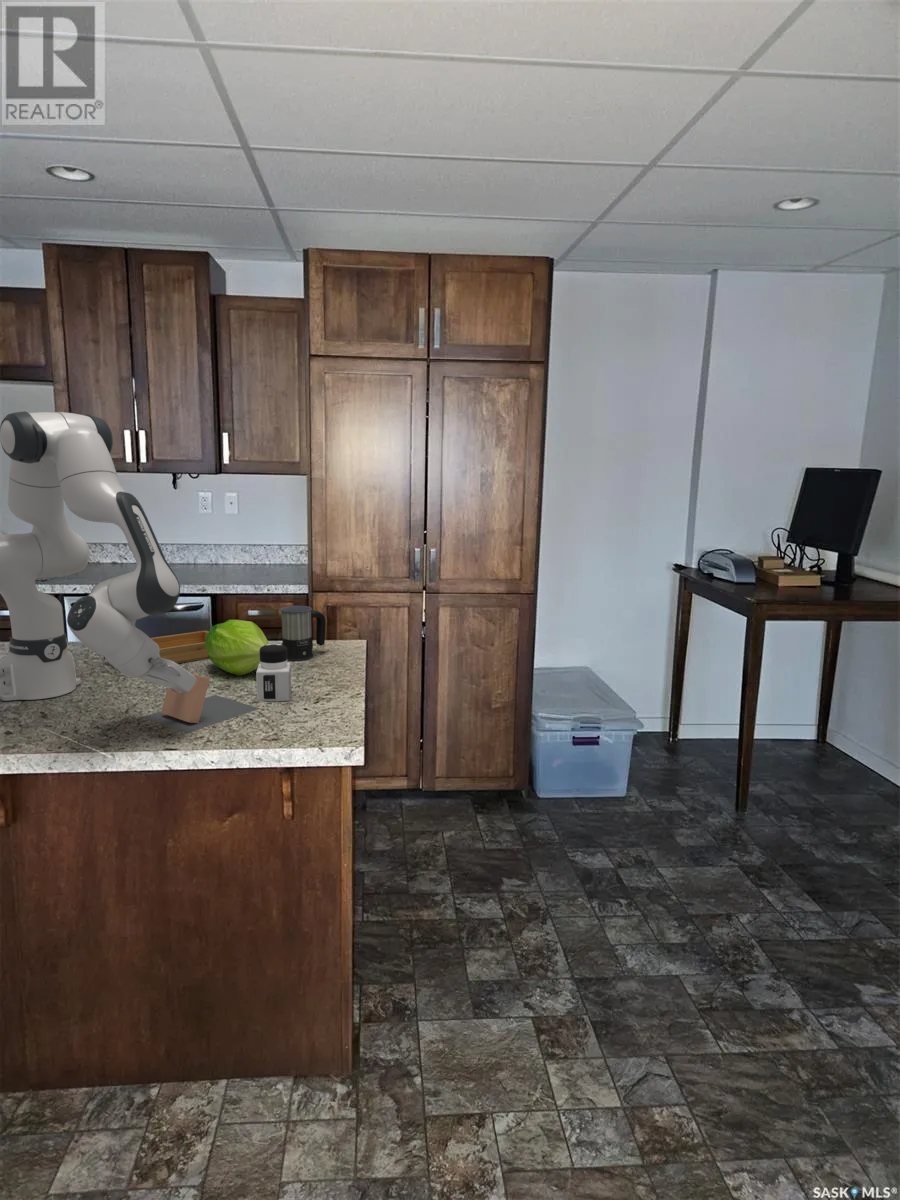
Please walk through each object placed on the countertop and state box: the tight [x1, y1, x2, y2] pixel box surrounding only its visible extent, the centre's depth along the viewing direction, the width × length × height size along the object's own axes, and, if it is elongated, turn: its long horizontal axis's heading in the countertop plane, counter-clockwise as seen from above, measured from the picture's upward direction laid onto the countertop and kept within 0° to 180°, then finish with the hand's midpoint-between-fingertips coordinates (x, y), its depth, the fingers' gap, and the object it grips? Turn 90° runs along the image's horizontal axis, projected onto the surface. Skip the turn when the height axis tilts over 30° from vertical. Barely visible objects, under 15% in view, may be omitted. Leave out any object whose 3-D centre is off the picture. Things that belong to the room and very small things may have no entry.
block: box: [160, 672, 210, 723], centre depth 162 cm, size 10×3×10 cm, turn 56°
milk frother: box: [280, 605, 327, 662], centre depth 219 cm, size 14×16×15 cm
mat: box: [141, 694, 261, 734], centre depth 167 cm, size 16×20×1 cm
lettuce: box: [205, 619, 269, 676], centre depth 200 cm, size 15×23×16 cm
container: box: [255, 643, 292, 703], centre depth 179 cm, size 8×8×13 cm
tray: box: [103, 630, 209, 665], centre depth 212 cm, size 31×15×6 cm, turn 135°
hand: (179, 689), depth 161 cm, fingers closed
